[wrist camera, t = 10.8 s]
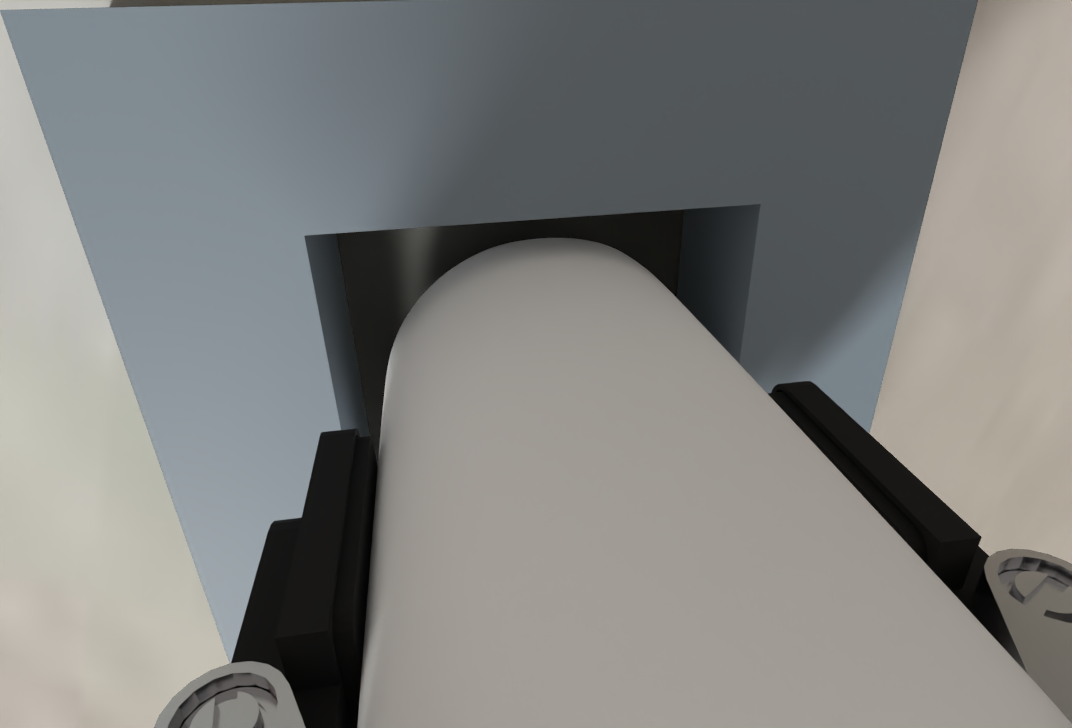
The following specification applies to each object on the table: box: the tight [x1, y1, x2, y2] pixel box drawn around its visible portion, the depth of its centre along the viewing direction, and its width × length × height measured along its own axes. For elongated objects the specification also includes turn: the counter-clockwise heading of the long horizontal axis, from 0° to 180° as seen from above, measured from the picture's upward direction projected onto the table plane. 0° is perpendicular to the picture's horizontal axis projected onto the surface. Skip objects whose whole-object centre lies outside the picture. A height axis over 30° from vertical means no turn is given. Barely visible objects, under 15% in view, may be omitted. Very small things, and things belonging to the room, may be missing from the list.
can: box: [357, 238, 1072, 728], centre depth 9 cm, size 6×6×12 cm
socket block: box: [0, 0, 978, 663], centre depth 14 cm, size 14×14×4 cm
